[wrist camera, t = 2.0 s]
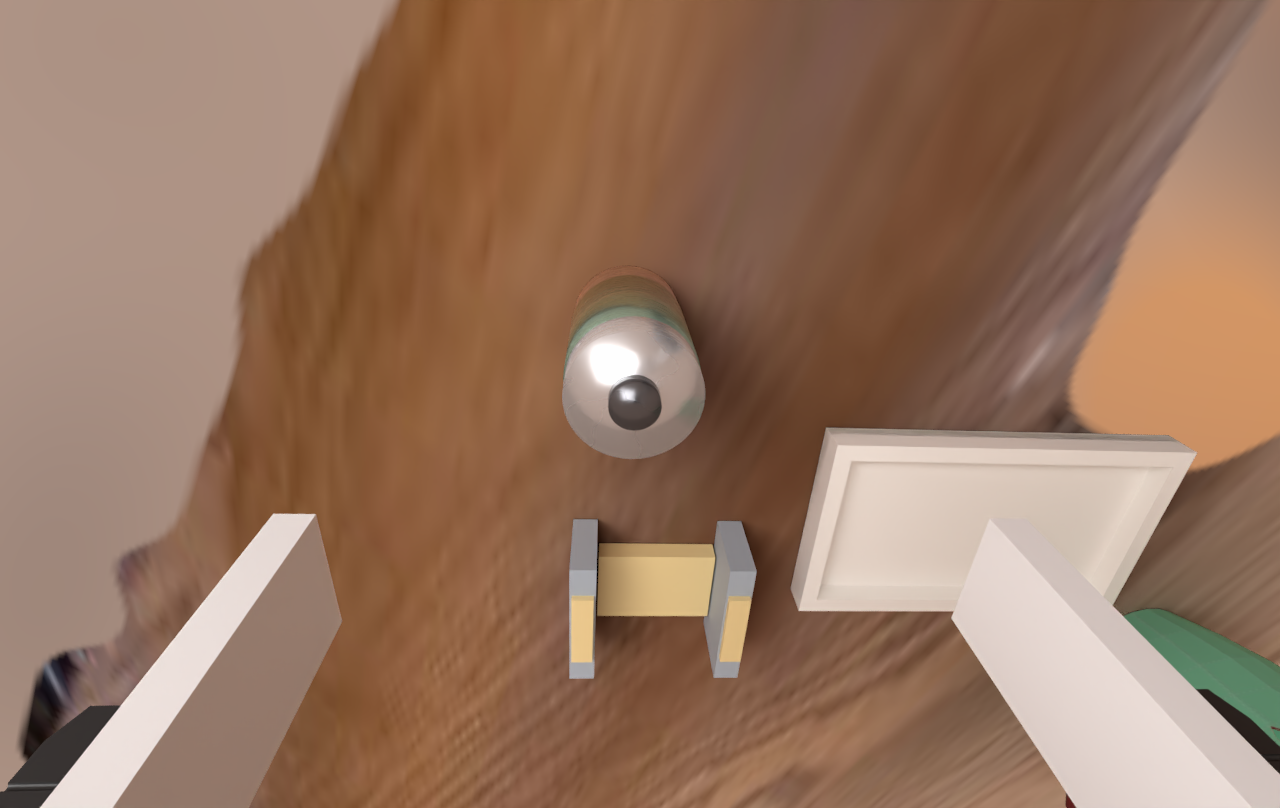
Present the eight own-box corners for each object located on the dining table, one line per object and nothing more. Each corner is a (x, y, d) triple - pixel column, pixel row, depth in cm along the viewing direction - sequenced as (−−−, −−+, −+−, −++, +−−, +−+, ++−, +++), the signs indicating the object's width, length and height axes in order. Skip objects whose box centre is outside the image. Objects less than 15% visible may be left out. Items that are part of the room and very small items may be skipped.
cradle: (573, 519, 30) (569, 575, 26) (741, 521, 30) (758, 576, 27) (573, 621, 33) (569, 683, 30) (724, 621, 34) (738, 682, 30)
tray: (826, 427, 28) (837, 445, 27) (1168, 435, 29) (1197, 452, 28) (790, 588, 33) (798, 610, 31) (1087, 589, 34) (1109, 611, 32)
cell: (573, 262, 24) (558, 333, 17) (685, 266, 24) (717, 339, 17) (572, 365, 26) (559, 469, 19) (676, 368, 26) (702, 471, 19)
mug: (1148, 551, 33) (1350, 722, 24) (1257, 610, 35) (1476, 784, 26) (961, 712, 38) (1069, 899, 29) (1068, 753, 41) (1196, 936, 32)
